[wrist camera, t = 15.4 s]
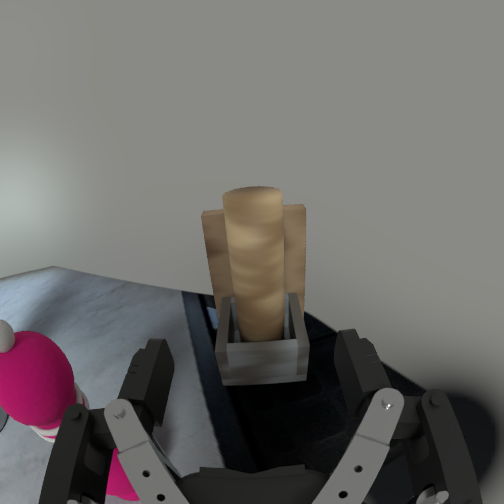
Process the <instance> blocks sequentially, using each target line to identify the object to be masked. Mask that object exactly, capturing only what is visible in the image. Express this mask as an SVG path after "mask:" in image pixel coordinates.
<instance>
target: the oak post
mask: <svg viewBox="0 0 504 504" xmlns="http://www.w3.org/2000/svg"><path fill="white" fill-rule="evenodd" d="M222 199H223V207H224V217H225V225H226V234H227V242H228V251H229V259H230V267H231V275H232V283H233V291H234V298H235V306H236V313H237V320H238V328H239V335H240V342H241V343H248V342H265V341H278V340H284V338H285V291H284V232H283V202H282V201H283V200H282V191H281V190H279V189H276V188H273V187H261V186H260V187H259V186H258V187H245V188H239V189H234V190H231V191H228V192H226V193H225V194H223V196H222Z"/></svg>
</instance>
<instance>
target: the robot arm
mask: <svg viewBox="0 0 504 504" xmlns="http://www.w3.org/2000/svg"><path fill="white" fill-rule="evenodd" d="M334 363H335V367H336V370H337V374H338V377H339V381H340V384H341V388H342V391H343V395H344V398H345V402H346V406H347V409H348V413H349V417H350V420H353V419H358V422H359V426H358V428H357V429H356V431H355V433H354V435H353V437H352V439H351V441H350V442H349V444H348V446H347V448H346V449H345V451H344V453H343V455H342V456H341V458H340V460H339V461H338V463H337V464H336V466H335V467H334V469H333V471H332V472H331V474H330V475H329V476H327V475H325V474H323V473H321V472H318V471H314V470H308V469H305V465H304V464H303V465H295V466H284V467H277V468H273V469H270V470H266V471H262V472H259V473H255V474H248V473H243V472H239V471H234V470H230V469H226V468H207V467H200V471H199V472H197V473H193V474H189V475H187V476H184V477H182V476H181V475H180V473H179V472H178V471H177V469H176V468H175V467H174V466H173V464H172V463H171V462H170V460H169V459H168V457H167V456H166V454H165V452H164V451H163V449H162V448H161V446H160V444H159V443H158V441H157V439H156V438H155V436H154V434H153V433H152V432H153V427H154V426H159V427H162V423H163V418H164V413H165V409H166V404H167V400H168V395H169V391H170V387H171V382H172V378H173V374H174V360H173V357H172V355H171V352H170V349H169V347H168V344H167V341H166V340H165V339H149V340H148V342H147V345H146V348H145V349H139V350H138V352H137V353H136V354H135V355H134V356H133V358H132V361H131V363H130V366H129V369H128V373H127V374H126V376H125V379H124V382H123V385H122V387H121V390H120V393H119V396H118V398H117V399H115V400H113V401H111V402H110V403H108V404H107V406H106V407H105V408H101V409H92V410H88V409H87V408H86V407H85V406H84V405H83V404H80V403H75V404H72V405H70V406H69V407H68V408H67V409H66V410H65V413H64V415H63V418H62V421H61V424H60V427H59V430H58V432H57V436H56V439H55V442H54V445H53V448H52V451H51V455H50V458H49V462H48V466H47V469H46V473H45V477H44V481H43V485H42V490H41V494H40V499H39V504H105V496H106V490H107V484H108V478H109V472H110V467H111V461H112V456H113V451H114V448H118V450H119V453H118V454H117V455H118V458H119V461H120V463H121V465H122V467H123V469H124V471H125V473H126V475H127V477H128V479H129V481H130V483H131V484H132V486H133V488H134V490H135V492H136V493H137V495H138V497H139V499H140V500H141V502H142V504H366V503H365V502H363V500H364V498H365V496H366V494H367V493H368V491H369V489H370V487H371V485H372V483H373V482H374V480H375V478H376V476H377V474H378V472H379V470H380V468H381V466H382V464H383V462H384V460H385V457H386V455H387V453H388V450H389V447H390V445H389V442H390V440H391V438H401V441H402V445H403V449H404V453H405V457H406V461H407V465H408V470H409V474H410V479H411V484H412V489H413V494H414V497H412V498H411V499H410V500H409V502H408V503H407V504H482V499H481V494H480V490H479V486H478V482H477V478H476V475H475V471H474V468H473V464H472V461H471V458H470V455H469V452H468V449H467V446H466V443H465V440H464V437H463V435H462V432H461V429H460V427H459V424H458V422H457V419H456V416H455V414H454V411H453V409H452V407H451V404H450V402H449V399H448V397H447V396H446V394H445V393H444V392H442V391H440V390H437V389H432V390H428V391H427V392H425V393H424V395H423V396H422V397H413V396H403V395H402V394H401V393H400V392H399V391H397V390H395V389H393V388H392V386H391V384H390V382H389V380H388V377H387V375H386V373H385V370H384V368H383V366H382V363H381V362H380V359H379V357H378V355H377V352H376V350H375V348H374V346H373V344H372V343H371V342H370V341H368V340H367V339H366V338H362V339H359V336H358V334H357V332H356V330H355V329H347V330H340V331H338V335H337V340H336V345H335V350H334ZM6 419H7V413H6V412H5V411H4V409H3V408H2V407H1V406H0V430H1V429H2V428H3V426H4V424H5V421H6Z"/></svg>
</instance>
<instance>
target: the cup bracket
mask: <svg viewBox="0 0 504 504" xmlns="http://www.w3.org/2000/svg"><path fill="white" fill-rule="evenodd" d="M201 219H202V225H203V232H204V238H205V245H206V251H207V258H208V264H209V270H210V276H211V282H212V287H213V293H214V299H215V304H216V310H217V315H218V320H219V323H218V331H217V338H216V346H215V355H216V359H217V363H218V367H219V371H220V375H221V379H222V383H223V385H255V384H272V383H284V382H295V381H304V380H306V377H307V368H308V359H309V349H310V345H309V340H308V336H307V332H306V328H305V324H304V320H303V317H304V294H305V263H306V259H305V258H306V208H305V206H304V205H303V204H295V205H283V232H284V291H285V338H284V340H278V341H265V342H248V343H241V342H240V335H239V328H238V320H237V313H236V306H235V298H234V291H233V283H232V275H231V267H230V259H229V251H228V242H227V234H226V225H225V217H224V209H221V210H210V211H203V213H202V215H201Z"/></svg>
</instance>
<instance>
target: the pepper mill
mask: <svg viewBox="0 0 504 504" xmlns="http://www.w3.org/2000/svg"><path fill="white" fill-rule="evenodd" d="M75 403H80V404H83V405H84V406H85V407H86V408H87V409H88V410H89V403H88V400H87V397H86V396H85V394H84V393H83V392H82V391H81V390H80V388H79V387H78V385H77V384H76V383H75V382H74V375H73V371H72V367H71V365H70V363H69V361H68V359H67V358H66V356H65V354H64V353H63V352H62V350H61V349H60V348H59V347H58V346H57V345H56V344H55V343H54V342H53V341H52V340H51V339H49V338H48V337H46V336H44V335H42V334H40V333H37V332H33V331H21V332H16V333H14V332H13V329H12V327H11V326H10V325H9V324H8V323H7V322H6V321H4V320H0V406H1V407H2V408H3V409H4V411H5V412H6V413H7V414H8V415H9V416H11V417H12V418H13V419H14V420H16V421H18V422H20V423H23V424H25V425H29V426H30V427H31V428H32V429H33V430H34V431H35V432H36V433H38V434H39V436H40V437H42V438H43V439H45V440H46V441H48V442H51V443H54V442H55V439H56V436H57V432H58V430H59V427H60V424H61V421H62V418H63V415H64V413H65V410H66V409H67V408H68V407H69V406H70V405H72V404H75ZM118 453H119V450H118V448H114V451H113V456H112V461H111V467H110V472H109V478H108V484H107V490H106V494H108V495H114V496H118V497H120V498H122V499H125V500H130V501H137V500H140V499H139V497H138V495H137V493H136V492H135V490H134V488H133V486H132V484H131V483H130V481H129V479H128V477H127V475H126V473H125V471H124V469H123V467H122V465H121V463H120V461H119V458H118V455H117V454H118Z"/></svg>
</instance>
